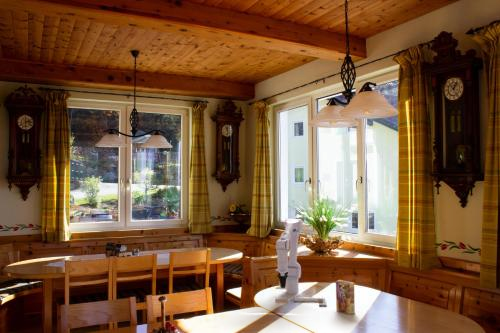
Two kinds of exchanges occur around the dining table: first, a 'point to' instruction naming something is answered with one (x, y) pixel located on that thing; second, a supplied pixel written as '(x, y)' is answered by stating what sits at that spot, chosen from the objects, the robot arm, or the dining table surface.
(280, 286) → the u clip
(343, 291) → the candy box
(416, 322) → the dining table surface
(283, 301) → the brown square backing plate
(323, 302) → the rack
